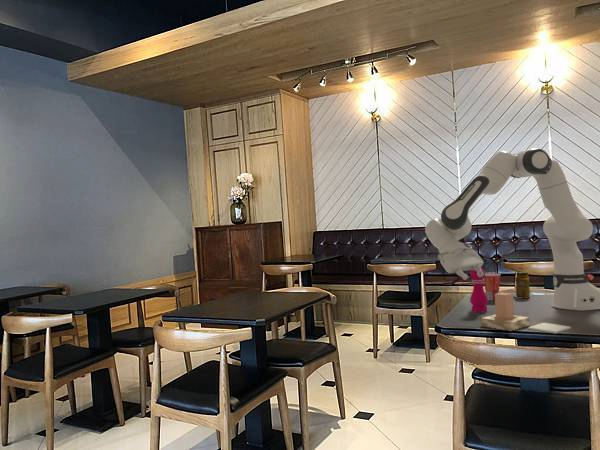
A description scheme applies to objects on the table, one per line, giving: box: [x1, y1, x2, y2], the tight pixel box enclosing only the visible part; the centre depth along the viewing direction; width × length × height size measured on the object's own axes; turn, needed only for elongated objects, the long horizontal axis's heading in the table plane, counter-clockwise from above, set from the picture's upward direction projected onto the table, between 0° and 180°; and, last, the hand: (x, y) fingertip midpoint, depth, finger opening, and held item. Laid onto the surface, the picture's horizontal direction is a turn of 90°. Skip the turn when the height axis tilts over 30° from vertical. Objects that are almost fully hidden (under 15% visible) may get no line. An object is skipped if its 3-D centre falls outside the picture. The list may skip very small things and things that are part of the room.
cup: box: [483, 272, 502, 301], centre depth 237 cm, size 9×8×12 cm
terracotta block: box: [494, 291, 515, 320], centre depth 184 cm, size 4×4×12 cm
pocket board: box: [480, 313, 531, 332], centre depth 184 cm, size 12×12×3 cm
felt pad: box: [527, 322, 572, 334], centre depth 176 cm, size 10×10×1 cm
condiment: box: [515, 271, 531, 298], centre depth 238 cm, size 7×8×12 cm
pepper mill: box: [469, 268, 489, 313], centre depth 213 cm, size 7×7×20 cm
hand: (474, 277), depth 194 cm, fingers open, 8 cm apart
